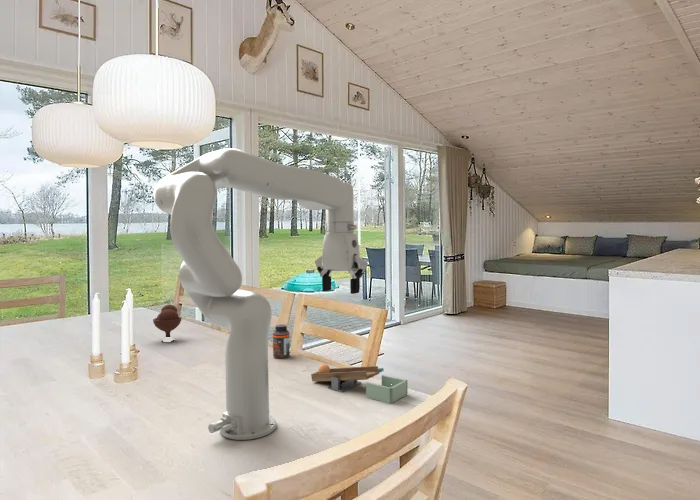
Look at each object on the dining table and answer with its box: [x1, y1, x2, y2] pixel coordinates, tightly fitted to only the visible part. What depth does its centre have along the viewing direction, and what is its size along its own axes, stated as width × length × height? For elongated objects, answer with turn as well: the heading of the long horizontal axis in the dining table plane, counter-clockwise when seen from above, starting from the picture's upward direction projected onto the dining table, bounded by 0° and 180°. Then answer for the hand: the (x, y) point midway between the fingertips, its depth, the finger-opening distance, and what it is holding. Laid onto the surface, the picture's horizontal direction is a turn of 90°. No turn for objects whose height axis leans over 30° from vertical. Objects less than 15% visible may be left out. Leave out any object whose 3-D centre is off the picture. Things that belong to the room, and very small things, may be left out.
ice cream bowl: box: [152, 304, 182, 337], centre depth 194 cm, size 11×11×15 cm
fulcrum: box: [327, 376, 362, 393], centre depth 136 cm, size 9×5×4 cm, turn 143°
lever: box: [310, 365, 385, 382], centre depth 138 cm, size 10×20×2 cm, turn 53°
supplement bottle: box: [272, 323, 291, 359], centre depth 169 cm, size 6×6×11 cm
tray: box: [365, 375, 408, 404], centre depth 128 cm, size 8×8×4 cm
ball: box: [317, 363, 331, 373], centre depth 141 cm, size 4×4×4 cm
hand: (340, 292), depth 128 cm, fingers open, 9 cm apart
